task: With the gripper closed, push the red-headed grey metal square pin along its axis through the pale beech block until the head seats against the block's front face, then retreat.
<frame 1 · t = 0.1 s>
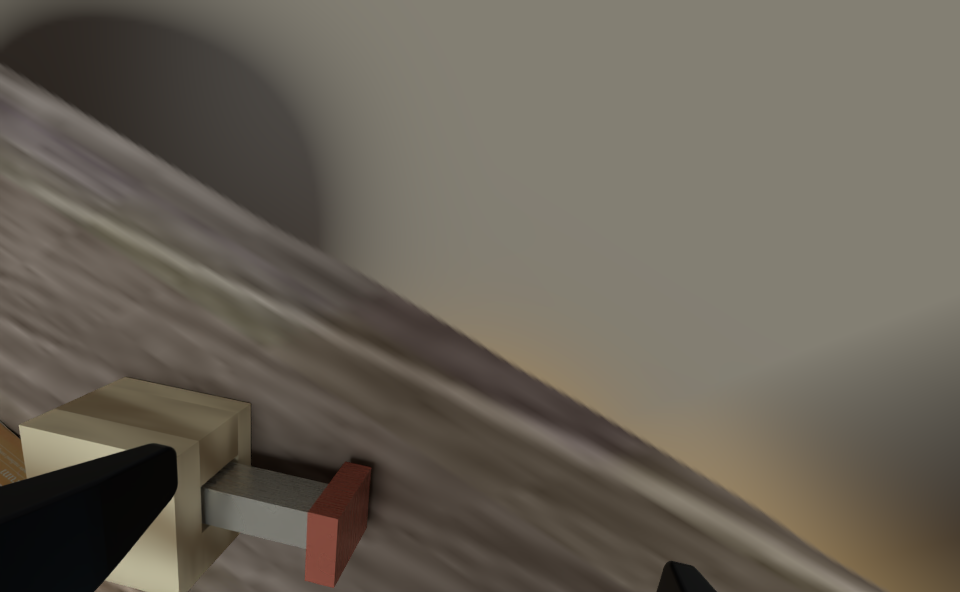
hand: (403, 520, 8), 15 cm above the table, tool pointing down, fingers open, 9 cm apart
small box: (31, 476, 30), on the table
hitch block: (189, 450, 27), on the table
pin: (242, 497, 24), point 2 cm above the table, slide at 0.0 cm
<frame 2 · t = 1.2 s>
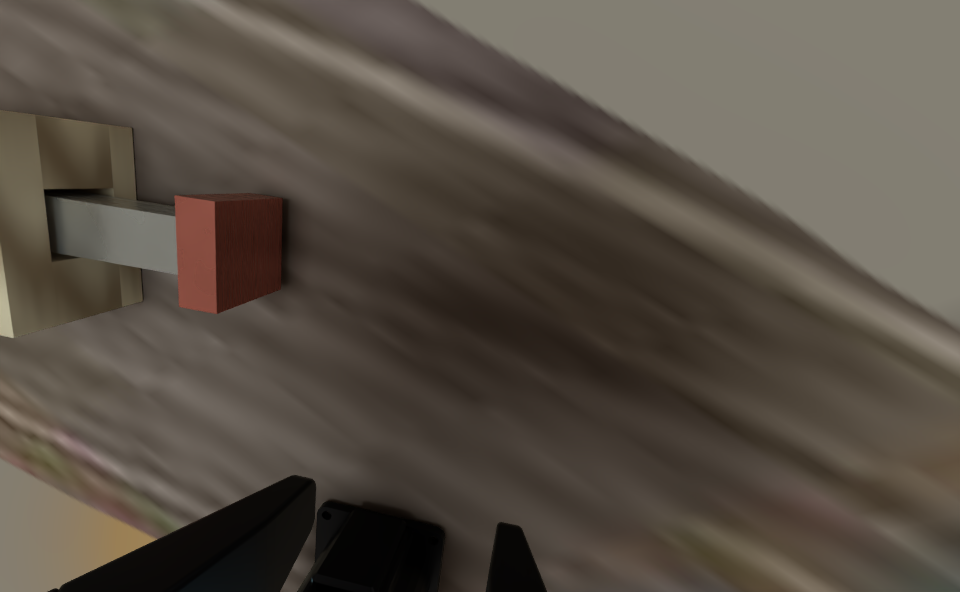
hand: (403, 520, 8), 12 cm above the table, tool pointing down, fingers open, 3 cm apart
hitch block: (62, 206, 22), on the table
pin: (111, 227, 19), point 2 cm above the table, slide at 0.0 cm
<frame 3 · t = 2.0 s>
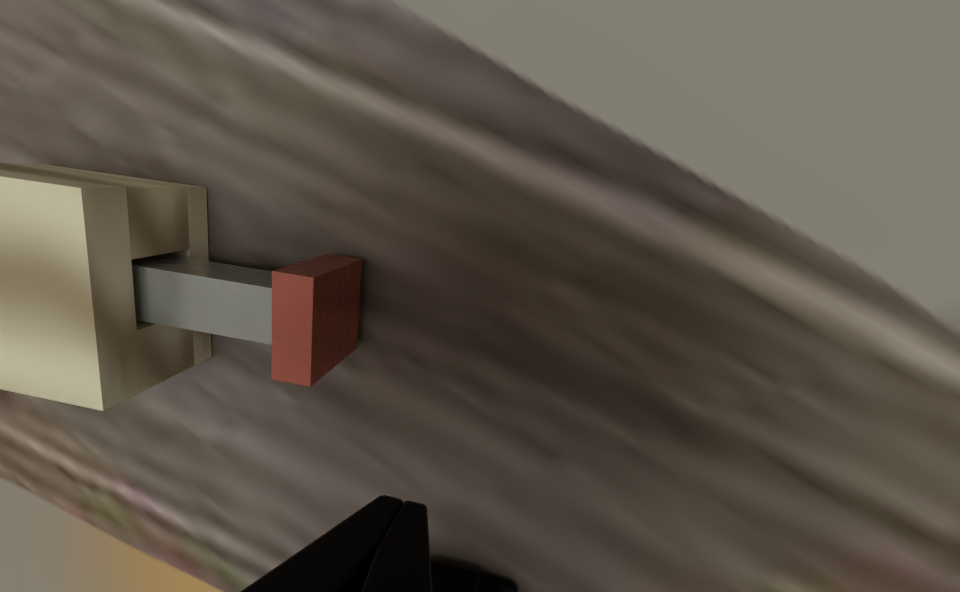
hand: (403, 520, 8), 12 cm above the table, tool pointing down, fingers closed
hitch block: (131, 263, 21), on the table
pin: (192, 292, 18), point 2 cm above the table, slide at 0.0 cm
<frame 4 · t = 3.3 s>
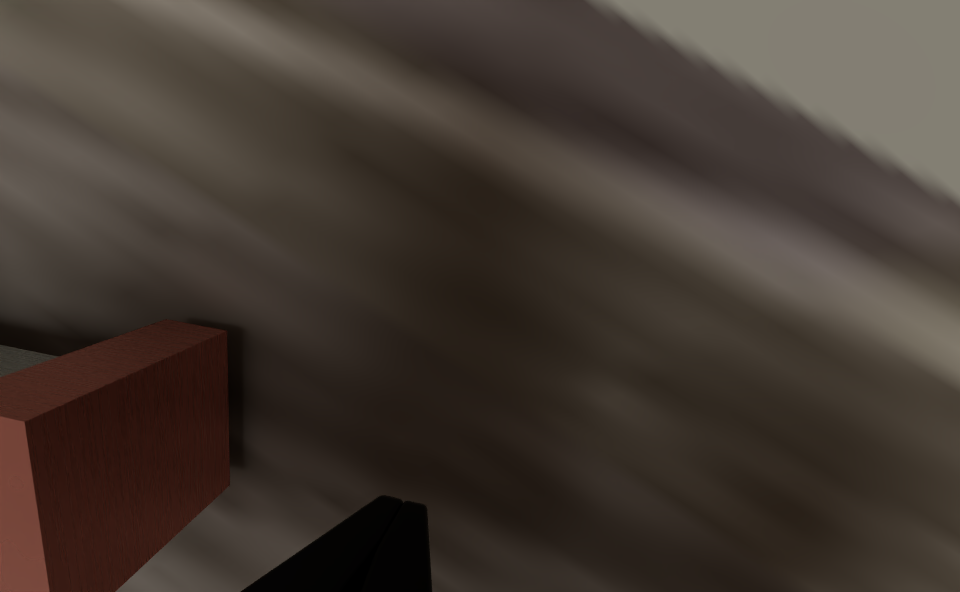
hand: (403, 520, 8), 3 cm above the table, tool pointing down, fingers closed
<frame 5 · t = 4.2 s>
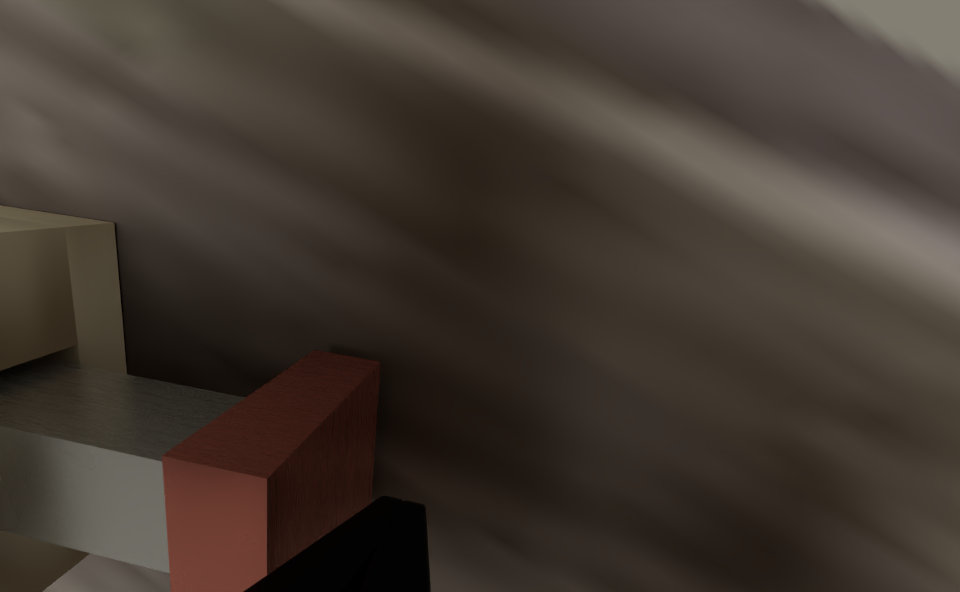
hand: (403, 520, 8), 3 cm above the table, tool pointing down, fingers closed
pin: (36, 438, 9), point 2 cm above the table, slide at 0.8 cm, touching gripper
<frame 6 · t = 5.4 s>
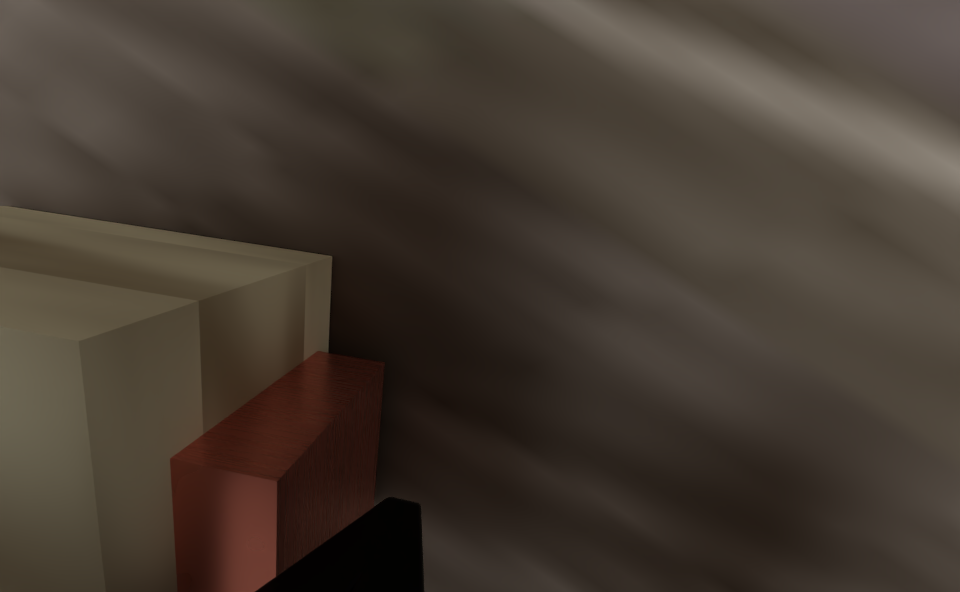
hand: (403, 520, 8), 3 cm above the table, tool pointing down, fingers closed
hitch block: (171, 391, 11), on the table
pin: (35, 441, 9), point 2 cm above the table, slide at 6.0 cm, touching gripper, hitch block
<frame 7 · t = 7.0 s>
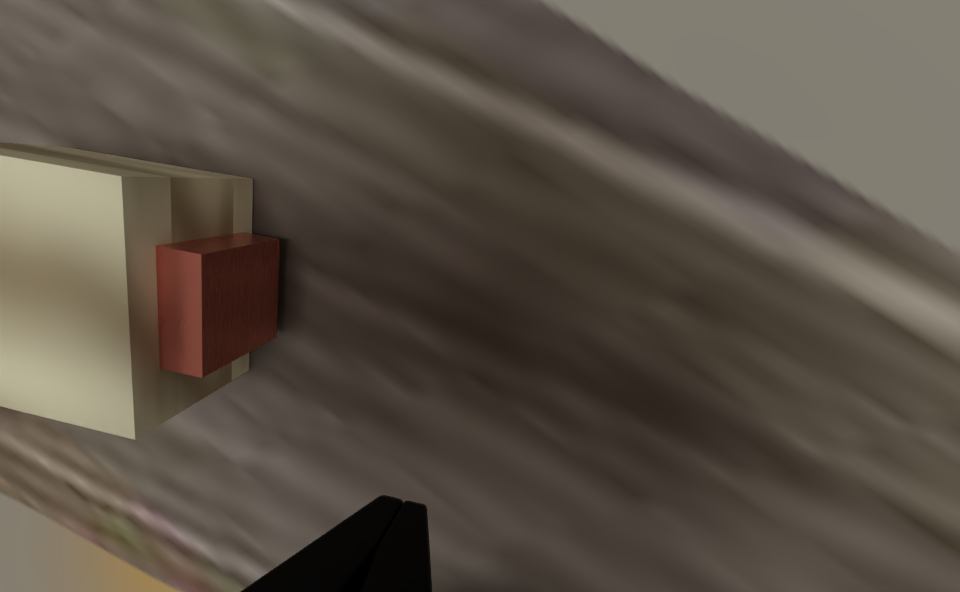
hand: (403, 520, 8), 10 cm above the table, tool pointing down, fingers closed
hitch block: (162, 262, 19), on the table
pin: (86, 270, 16), point 2 cm above the table, slide at 6.0 cm, touching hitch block
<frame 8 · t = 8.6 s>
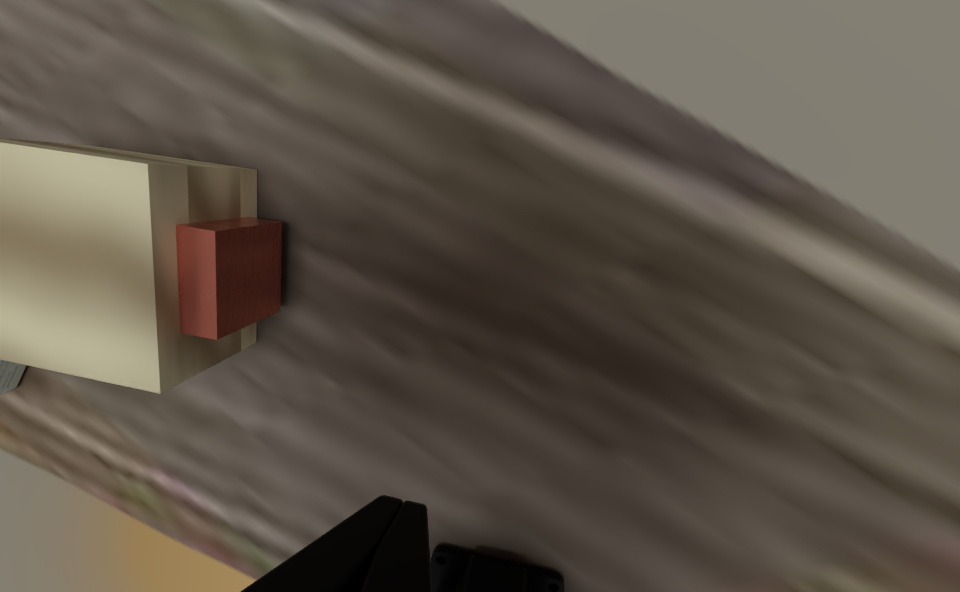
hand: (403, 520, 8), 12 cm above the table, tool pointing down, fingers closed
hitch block: (177, 246, 21), on the table
pin: (112, 252, 19), point 2 cm above the table, slide at 6.0 cm, touching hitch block
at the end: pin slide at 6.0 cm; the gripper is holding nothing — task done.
